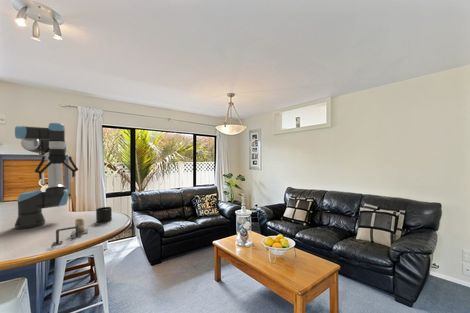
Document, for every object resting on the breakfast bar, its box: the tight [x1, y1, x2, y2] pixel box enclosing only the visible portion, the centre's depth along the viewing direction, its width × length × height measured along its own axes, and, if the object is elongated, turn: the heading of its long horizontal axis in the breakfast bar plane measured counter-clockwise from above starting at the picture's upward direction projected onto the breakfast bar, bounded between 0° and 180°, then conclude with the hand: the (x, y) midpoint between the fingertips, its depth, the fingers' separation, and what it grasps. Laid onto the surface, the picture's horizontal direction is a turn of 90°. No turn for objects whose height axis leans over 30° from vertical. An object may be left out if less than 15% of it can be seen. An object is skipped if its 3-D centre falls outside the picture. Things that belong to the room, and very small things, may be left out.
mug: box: [95, 206, 113, 224], centre depth 151 cm, size 9×12×9 cm
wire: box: [51, 224, 82, 247], centre depth 117 cm, size 10×12×8 cm
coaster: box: [70, 228, 89, 237], centre depth 129 cm, size 8×8×1 cm
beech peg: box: [74, 217, 85, 233], centre depth 129 cm, size 4×4×8 cm
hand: (57, 183), depth 129 cm, fingers open, 13 cm apart
